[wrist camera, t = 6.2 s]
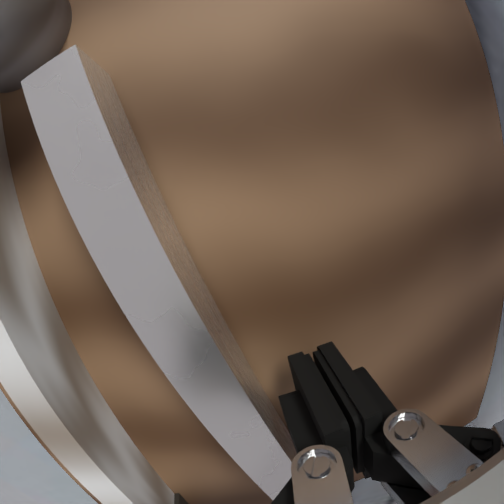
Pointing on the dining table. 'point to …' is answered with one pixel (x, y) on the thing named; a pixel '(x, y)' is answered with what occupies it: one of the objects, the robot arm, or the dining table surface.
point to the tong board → (257, 219)
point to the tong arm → (151, 262)
